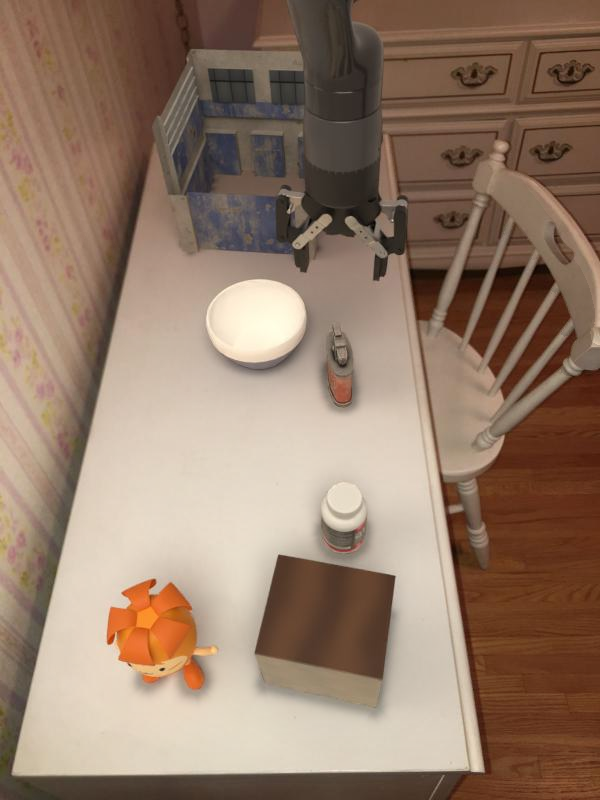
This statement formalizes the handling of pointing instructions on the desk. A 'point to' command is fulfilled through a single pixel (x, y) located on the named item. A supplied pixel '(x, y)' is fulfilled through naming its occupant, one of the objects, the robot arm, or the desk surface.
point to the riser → (326, 630)
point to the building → (232, 146)
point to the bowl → (256, 322)
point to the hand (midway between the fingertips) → (340, 271)
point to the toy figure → (157, 634)
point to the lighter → (339, 367)
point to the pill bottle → (343, 518)
